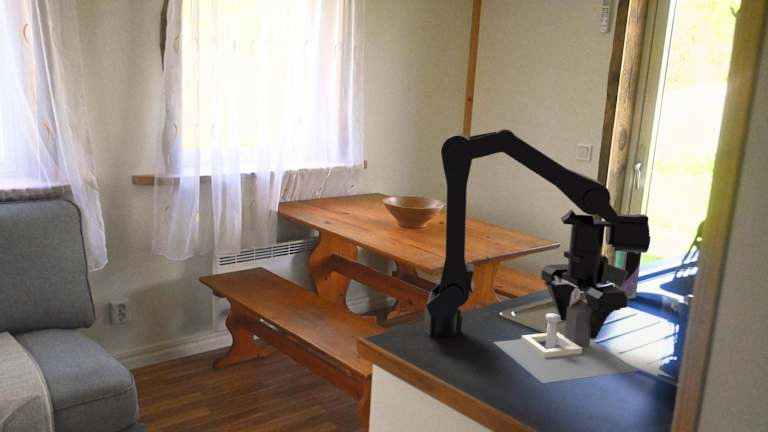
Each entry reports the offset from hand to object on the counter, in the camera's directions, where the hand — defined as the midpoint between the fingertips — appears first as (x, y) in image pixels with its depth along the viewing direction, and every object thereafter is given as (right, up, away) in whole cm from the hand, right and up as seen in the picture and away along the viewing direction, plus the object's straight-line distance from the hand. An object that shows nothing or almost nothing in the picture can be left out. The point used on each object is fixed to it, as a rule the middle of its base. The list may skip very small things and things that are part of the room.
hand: (577, 329), depth 114 cm
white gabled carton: (+7, +1, +29) cm, 30 cm away
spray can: (+23, +2, +36) cm, 42 cm away
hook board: (-4, -5, -4) cm, 8 cm away
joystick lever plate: (-4, -3, -1) cm, 5 cm away
